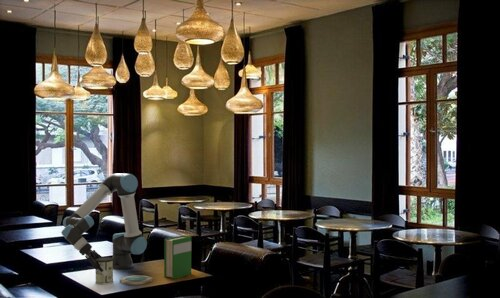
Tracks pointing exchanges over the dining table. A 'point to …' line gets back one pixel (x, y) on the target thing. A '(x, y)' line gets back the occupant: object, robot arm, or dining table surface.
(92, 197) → the robot arm
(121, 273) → the dining table surface
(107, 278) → the coffee can
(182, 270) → the hardback book
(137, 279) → the hub plate
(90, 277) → the dining table surface
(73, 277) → the dining table surface
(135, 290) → the dining table surface
